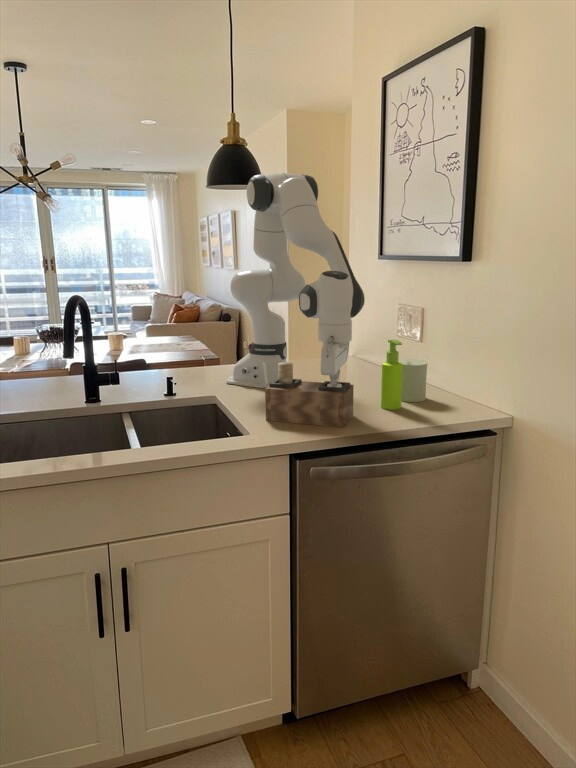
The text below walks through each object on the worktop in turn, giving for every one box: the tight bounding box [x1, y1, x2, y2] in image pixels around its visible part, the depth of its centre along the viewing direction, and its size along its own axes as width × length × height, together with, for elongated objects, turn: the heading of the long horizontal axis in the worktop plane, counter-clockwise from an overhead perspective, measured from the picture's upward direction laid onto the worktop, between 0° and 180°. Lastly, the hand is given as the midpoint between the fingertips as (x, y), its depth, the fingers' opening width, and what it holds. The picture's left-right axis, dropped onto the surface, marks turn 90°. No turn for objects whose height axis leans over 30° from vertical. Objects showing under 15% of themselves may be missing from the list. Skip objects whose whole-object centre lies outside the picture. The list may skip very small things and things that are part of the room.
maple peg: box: [278, 361, 294, 384], centre depth 156 cm, size 4×4×8 cm
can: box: [398, 358, 428, 403], centre depth 174 cm, size 9×9×12 cm
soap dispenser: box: [380, 339, 403, 411], centre depth 163 cm, size 6×7×20 cm
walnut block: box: [264, 378, 354, 428], centre depth 155 cm, size 22×11×10 cm, turn 71°
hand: (334, 384), depth 151 cm, fingers closed, pressing on steel peg
